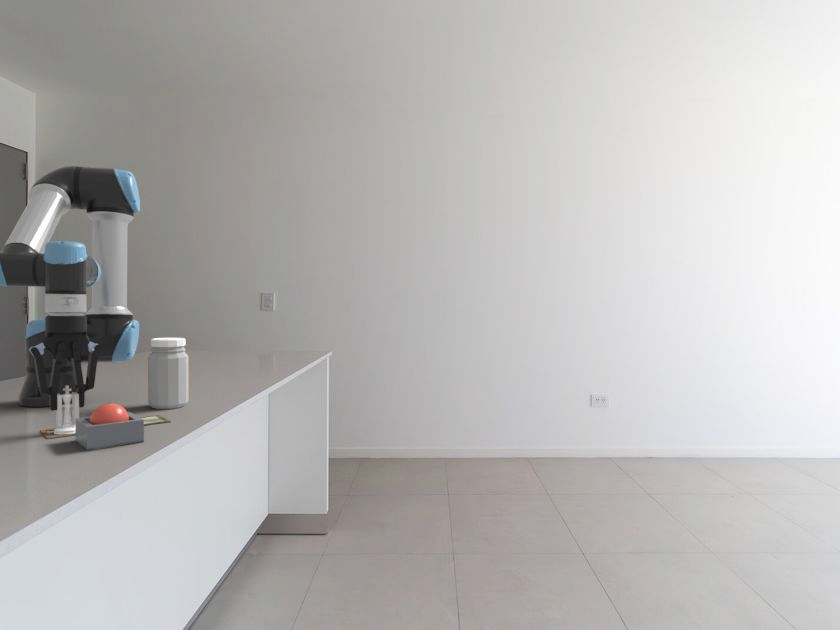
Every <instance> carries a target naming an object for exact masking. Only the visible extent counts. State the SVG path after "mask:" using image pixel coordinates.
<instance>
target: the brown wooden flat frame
mask: <svg viewBox="0 0 840 630" xmlns="http://www.w3.org/2000/svg"><path fill="white" fill-rule="evenodd" d="M139 417H140V416H139ZM140 418H141V419H143V420H144V427H146V426H151V425H152V424H153V425H159V424H166V423H171V420H169V419H167V418H166V417H163V416H162V415H159V414H155V415H148V416H141V417H140ZM56 428H57V427H55V428H47V429H46V428H45V429H40V430H39V432H40V433H41V434H42V435H43V436H44V438H46V439H47V440H50V439H51V440H52V439H57V438H65V437H72V436H76V433H73V434H66V435H55V436H54V435H53V436H51V435H50V434H49V433H48V432H47V431H49V432H51V431H54V430H55V429H56Z"/></svg>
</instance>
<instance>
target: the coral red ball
mask: <svg viewBox="0 0 840 630" xmlns="http://www.w3.org/2000/svg"><path fill="white" fill-rule="evenodd" d="M127 412H128V411H127V409H125V408H124V407H123V406H122V405H120V404H119V403H118V404H117V403H105V404H101V405H99V406H98V407H97V408H95V409H94V411H92V413H91V415H90V416H91V417H90V416H89V417H90V421H89V423H90V424H92V425H98V424H106V423H114V422H121V421H129V415H128V413H127Z"/></svg>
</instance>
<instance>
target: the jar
mask: <svg viewBox="0 0 840 630" xmlns="http://www.w3.org/2000/svg"><path fill="white" fill-rule="evenodd" d="M186 342H187V341H186V338H184V337H156V338H155V337H154V338H151V339H150V346H151V347H152V349H150V352H151V353H150V354H149V355H148V356H147V389H148V390H147V396H148V397H147V403H148V405H149V406H150V407H151V408H152V409H154V408H155V410H171V409H179V408H183V407H185V406H186V405H187V403H188V402H189V396H190V395H189V394H190V393H189V391H190V389H189V387H190V385H189V383H190V381H189V380H190V379H189V355H188V354H187V353H186V351H187V350H186V348H185V347H186V345H187V344H186Z"/></svg>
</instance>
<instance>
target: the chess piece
mask: <svg viewBox="0 0 840 630" xmlns="http://www.w3.org/2000/svg"><path fill="white" fill-rule="evenodd" d="M63 391H65V394H63V395H62V398H63V401H64V403H65V404H64V405H62V409H63V408H64V409H63V410H64V411H63V412H64V414H63V418H62V426H57V427H55V428H56V429H55V430H53V431H54V432H53V434H54V435H56V436H60V435H67V434H75V433H76V424H74V423H73V422H72V414H71V413H72V412H71V408H72V406H73V405H72V404H70V401H71V398H72V396H73V394H70V393H69V391H71V389H70V388H69V386H68V385H67V386H65V388H63Z"/></svg>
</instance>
